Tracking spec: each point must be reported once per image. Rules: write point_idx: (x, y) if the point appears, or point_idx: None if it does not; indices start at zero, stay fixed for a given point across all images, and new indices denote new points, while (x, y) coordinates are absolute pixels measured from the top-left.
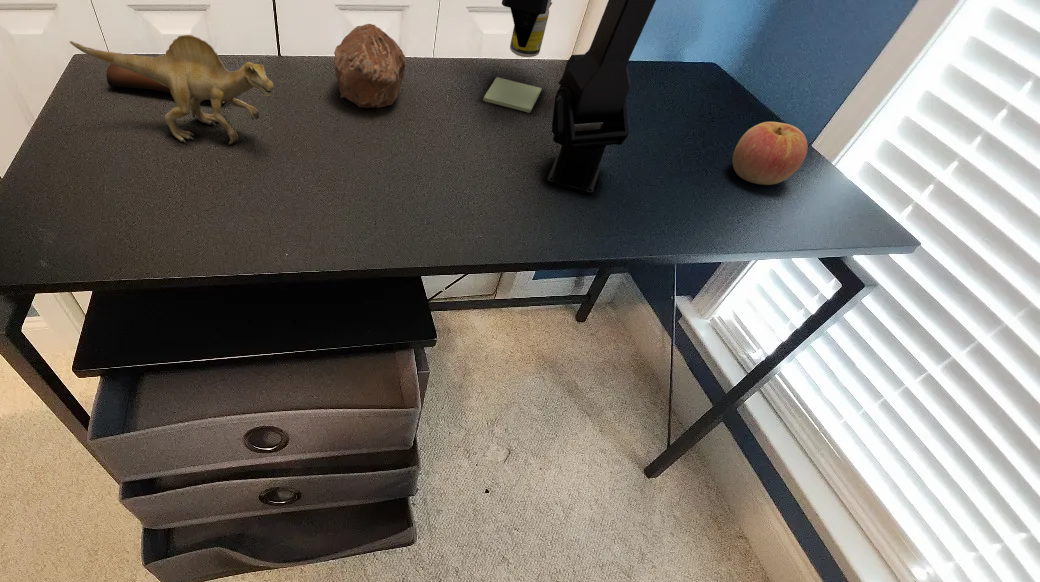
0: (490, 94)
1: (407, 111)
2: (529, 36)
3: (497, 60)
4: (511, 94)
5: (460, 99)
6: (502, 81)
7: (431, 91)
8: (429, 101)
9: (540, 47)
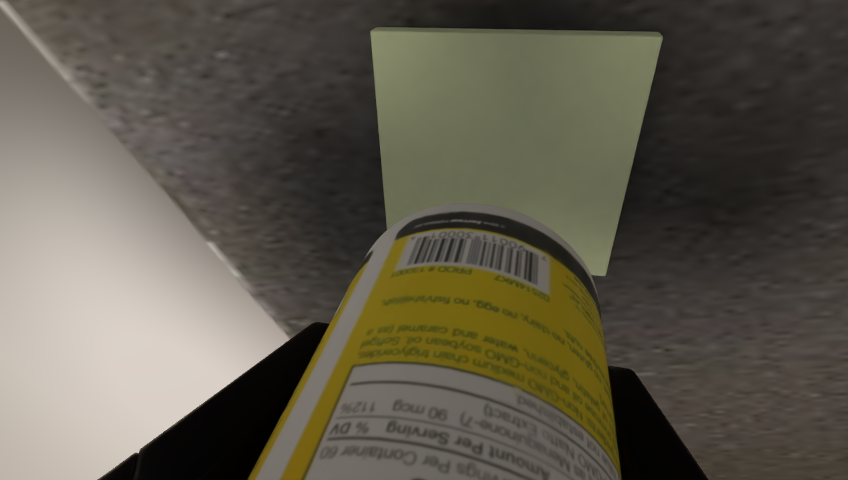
0: None
1: (778, 465)
2: (700, 472)
3: (233, 258)
4: (520, 169)
5: (621, 338)
6: None
7: None
8: (676, 418)
9: (474, 230)
